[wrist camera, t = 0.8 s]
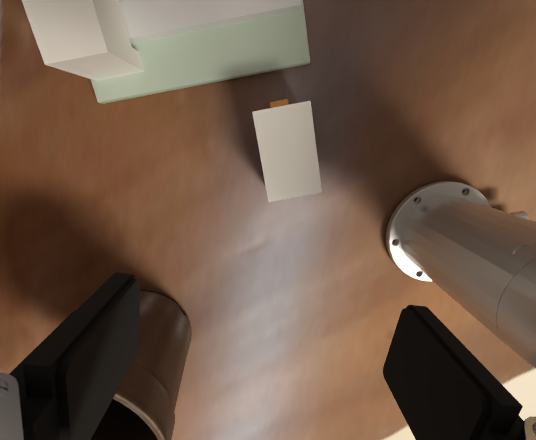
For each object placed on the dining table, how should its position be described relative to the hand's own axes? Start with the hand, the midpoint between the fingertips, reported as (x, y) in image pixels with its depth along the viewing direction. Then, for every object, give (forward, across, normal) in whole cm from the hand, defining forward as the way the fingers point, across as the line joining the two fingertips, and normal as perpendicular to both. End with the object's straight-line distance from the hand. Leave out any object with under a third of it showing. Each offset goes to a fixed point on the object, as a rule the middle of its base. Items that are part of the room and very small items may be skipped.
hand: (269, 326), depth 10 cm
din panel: (+25, +9, -16) cm, 31 cm away
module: (+24, -2, -5) cm, 25 cm away
